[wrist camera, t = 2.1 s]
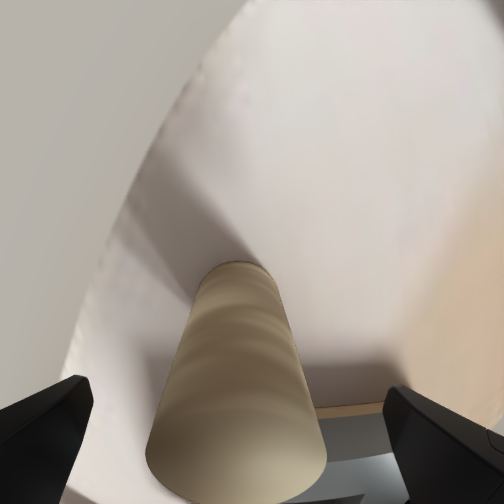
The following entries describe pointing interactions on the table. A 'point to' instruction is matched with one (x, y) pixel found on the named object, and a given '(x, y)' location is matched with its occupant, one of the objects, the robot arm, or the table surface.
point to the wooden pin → (236, 399)
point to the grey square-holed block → (355, 459)
